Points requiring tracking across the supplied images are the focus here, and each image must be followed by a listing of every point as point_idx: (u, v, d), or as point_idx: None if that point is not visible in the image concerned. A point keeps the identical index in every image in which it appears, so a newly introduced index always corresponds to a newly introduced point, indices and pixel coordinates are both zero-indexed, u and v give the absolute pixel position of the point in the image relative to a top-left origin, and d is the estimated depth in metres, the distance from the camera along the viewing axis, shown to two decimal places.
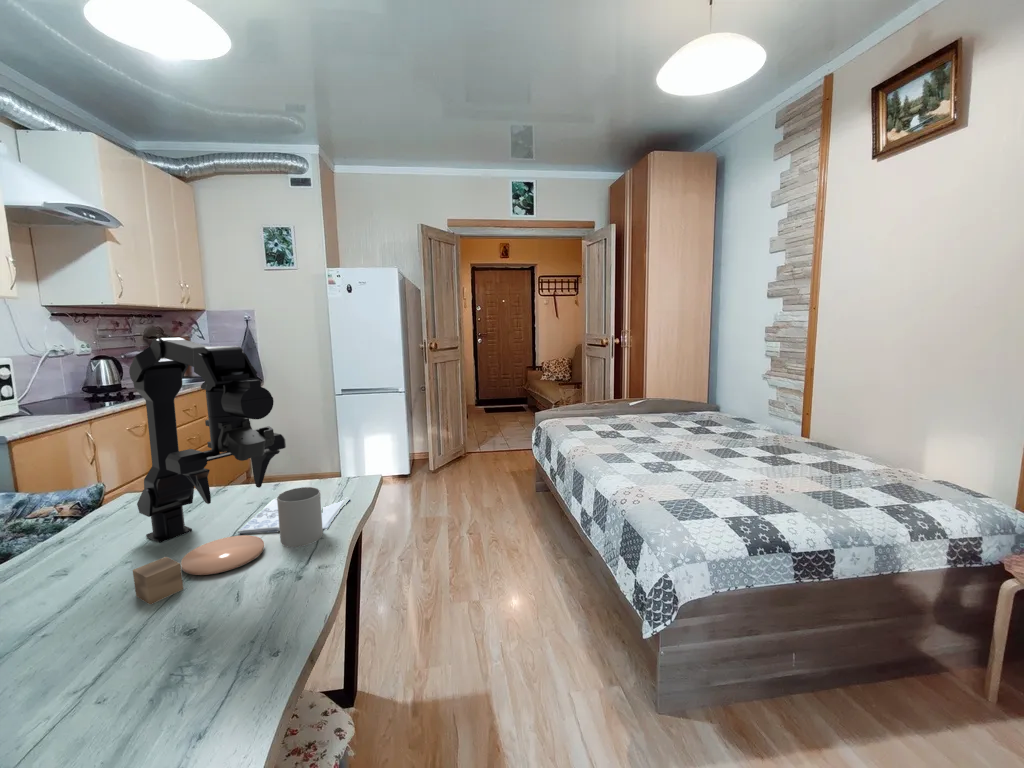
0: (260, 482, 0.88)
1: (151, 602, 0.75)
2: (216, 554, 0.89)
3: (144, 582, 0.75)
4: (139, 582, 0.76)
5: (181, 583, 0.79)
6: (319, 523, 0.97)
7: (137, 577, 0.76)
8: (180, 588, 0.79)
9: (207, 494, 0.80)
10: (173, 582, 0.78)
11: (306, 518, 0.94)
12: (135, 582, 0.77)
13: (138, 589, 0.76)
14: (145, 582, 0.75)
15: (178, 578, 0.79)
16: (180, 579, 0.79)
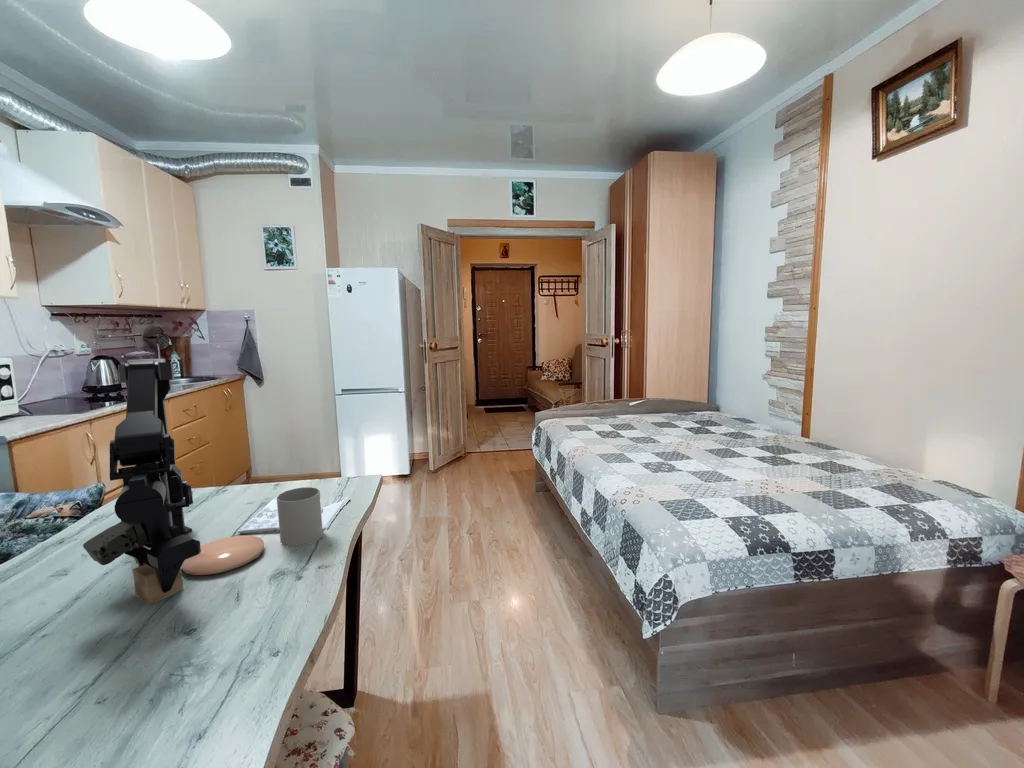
0: (162, 587, 0.76)
1: (151, 601, 0.75)
2: (216, 554, 0.89)
3: (144, 582, 0.75)
4: (139, 581, 0.76)
5: (181, 582, 0.79)
6: (319, 523, 0.97)
7: (137, 576, 0.76)
8: (180, 587, 0.79)
9: None
10: None
11: (305, 518, 0.94)
12: (135, 581, 0.77)
13: (138, 589, 0.76)
14: (145, 582, 0.75)
15: (178, 577, 0.79)
16: (180, 578, 0.79)
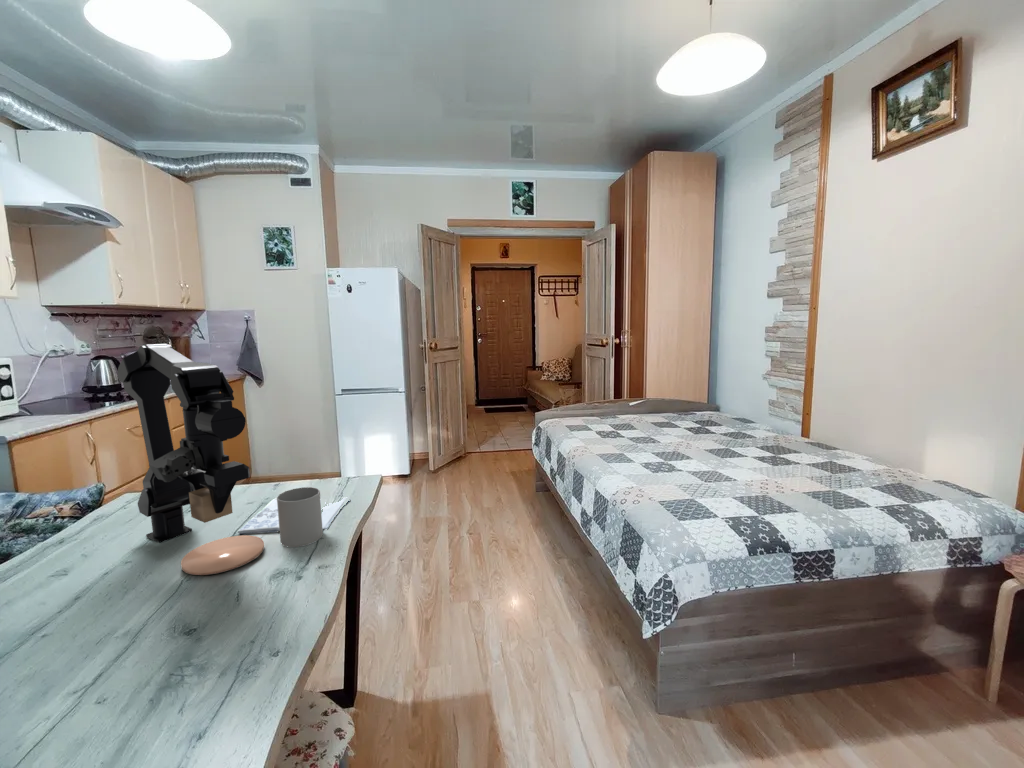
0: (215, 508, 0.85)
1: (206, 520, 0.84)
2: (216, 554, 0.89)
3: (199, 502, 0.84)
4: (195, 502, 0.85)
5: (231, 507, 0.88)
6: (319, 523, 0.97)
7: (193, 498, 0.85)
8: (230, 511, 0.87)
9: None
10: None
11: (305, 518, 0.94)
12: (191, 503, 0.85)
13: (194, 510, 0.85)
14: (201, 502, 0.83)
15: (228, 501, 0.87)
16: (230, 503, 0.87)
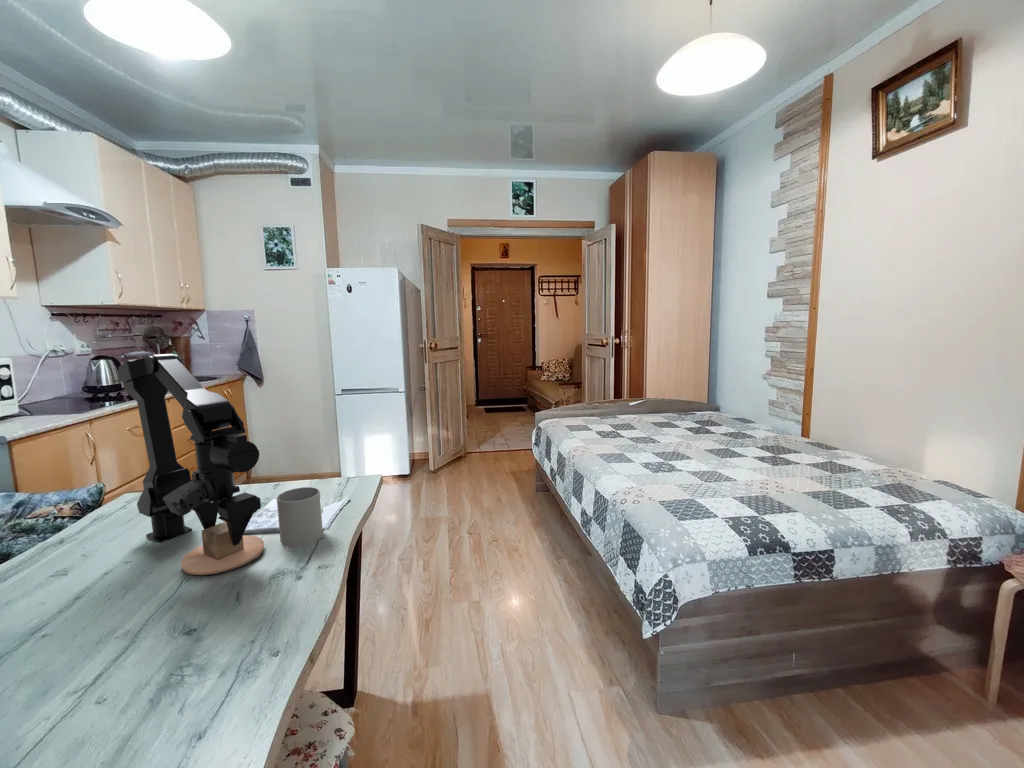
0: (233, 541, 0.86)
1: (219, 558, 0.86)
2: None
3: (212, 540, 0.86)
4: (208, 541, 0.87)
5: (242, 543, 0.90)
6: (319, 523, 0.97)
7: (206, 536, 0.87)
8: (241, 547, 0.90)
9: (203, 526, 0.91)
10: None
11: (305, 518, 0.94)
12: (203, 541, 0.88)
13: (207, 547, 0.88)
14: (214, 540, 0.86)
15: None
16: (241, 539, 0.90)
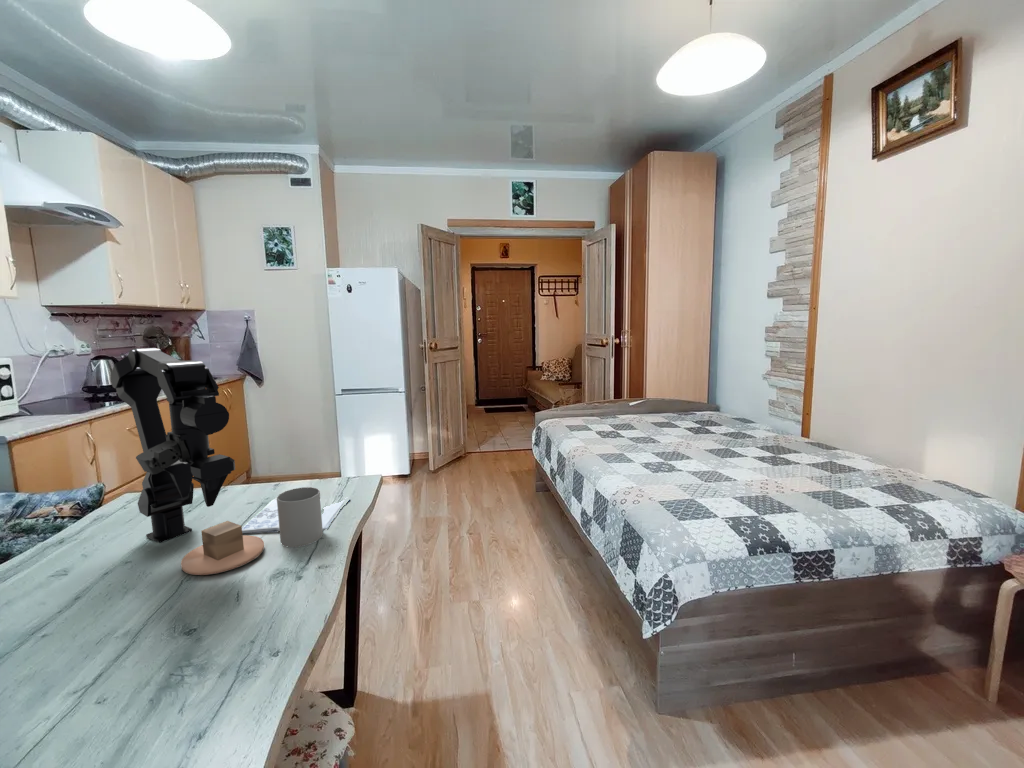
0: (206, 502, 0.87)
1: (219, 558, 0.86)
2: None
3: (212, 540, 0.86)
4: (208, 541, 0.87)
5: (242, 543, 0.90)
6: (319, 523, 0.97)
7: (206, 536, 0.87)
8: (241, 547, 0.90)
9: (178, 488, 0.91)
10: (236, 541, 0.89)
11: (305, 518, 0.94)
12: (203, 541, 0.88)
13: (207, 547, 0.88)
14: (214, 540, 0.86)
15: (240, 538, 0.90)
16: (241, 539, 0.90)
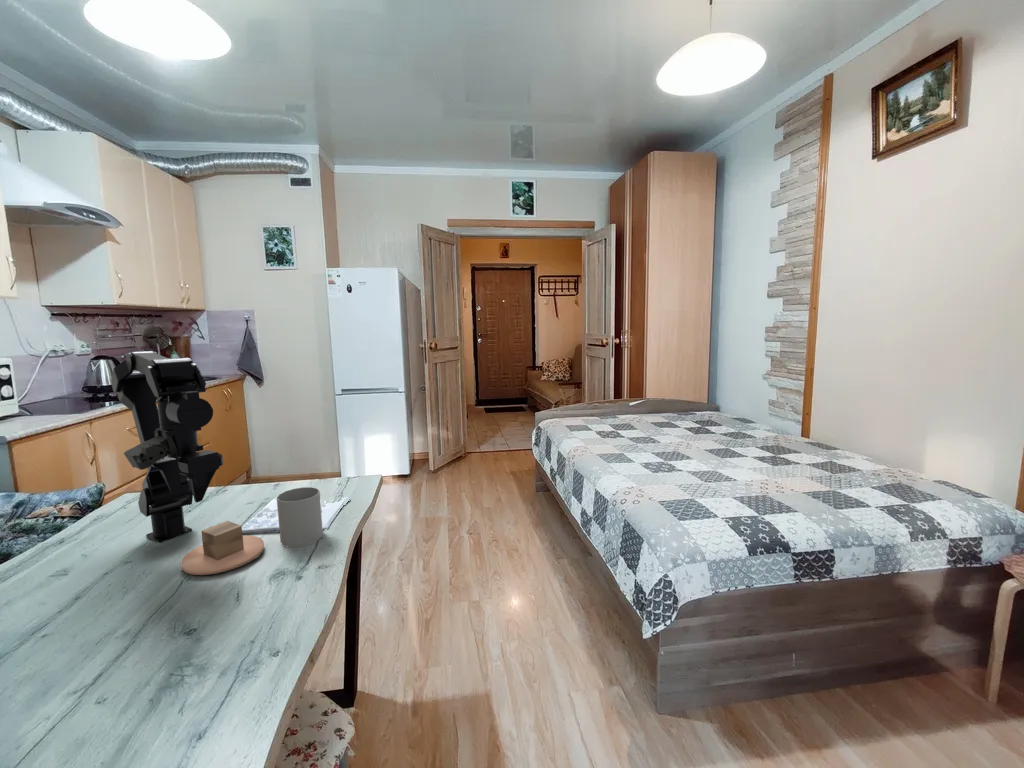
0: (195, 497, 0.87)
1: (219, 558, 0.86)
2: None
3: (212, 540, 0.86)
4: (208, 541, 0.87)
5: (242, 543, 0.90)
6: (319, 523, 0.97)
7: (206, 536, 0.87)
8: (241, 547, 0.90)
9: (168, 485, 0.92)
10: (236, 541, 0.89)
11: (305, 518, 0.94)
12: (203, 541, 0.88)
13: (207, 547, 0.88)
14: (214, 540, 0.86)
15: (240, 538, 0.90)
16: (241, 539, 0.90)
